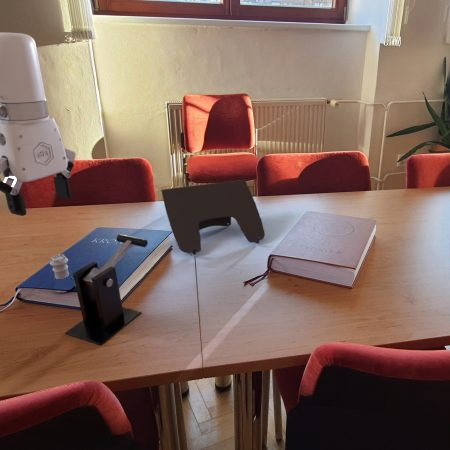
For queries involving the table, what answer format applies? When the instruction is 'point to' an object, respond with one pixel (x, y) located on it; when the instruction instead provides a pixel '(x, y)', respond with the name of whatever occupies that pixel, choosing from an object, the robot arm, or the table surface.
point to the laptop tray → (211, 211)
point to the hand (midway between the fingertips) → (42, 205)
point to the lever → (115, 256)
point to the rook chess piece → (60, 267)
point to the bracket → (100, 306)
